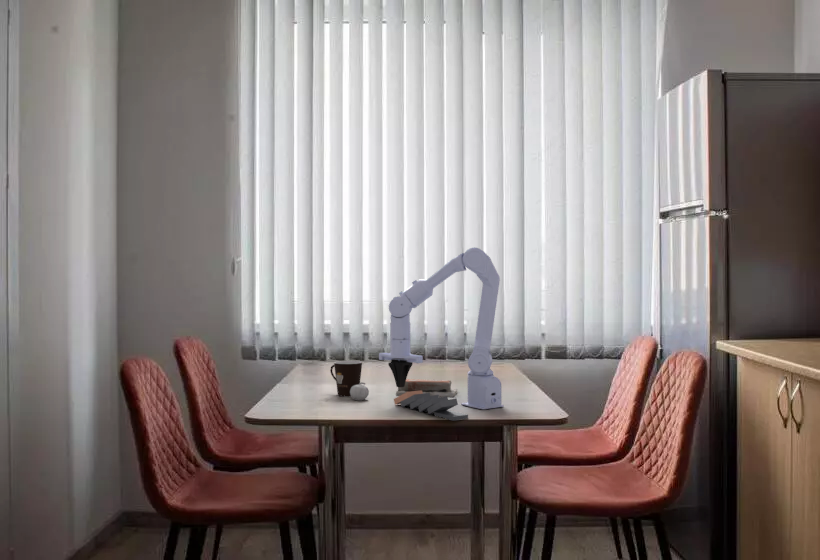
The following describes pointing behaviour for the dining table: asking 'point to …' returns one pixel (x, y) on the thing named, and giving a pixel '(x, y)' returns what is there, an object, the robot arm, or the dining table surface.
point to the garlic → (359, 391)
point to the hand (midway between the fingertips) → (400, 386)
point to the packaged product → (428, 387)
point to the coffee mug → (346, 375)
